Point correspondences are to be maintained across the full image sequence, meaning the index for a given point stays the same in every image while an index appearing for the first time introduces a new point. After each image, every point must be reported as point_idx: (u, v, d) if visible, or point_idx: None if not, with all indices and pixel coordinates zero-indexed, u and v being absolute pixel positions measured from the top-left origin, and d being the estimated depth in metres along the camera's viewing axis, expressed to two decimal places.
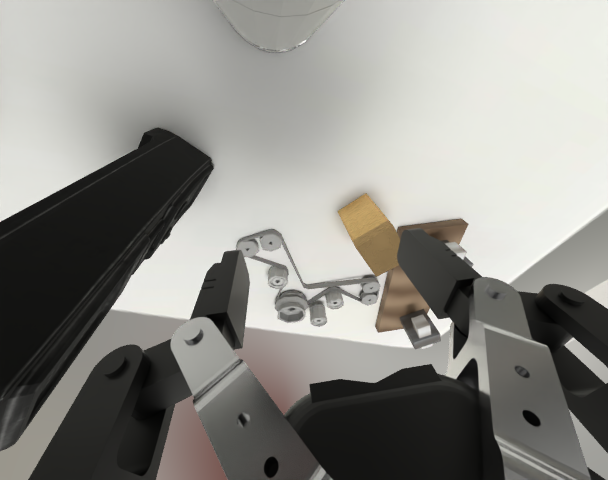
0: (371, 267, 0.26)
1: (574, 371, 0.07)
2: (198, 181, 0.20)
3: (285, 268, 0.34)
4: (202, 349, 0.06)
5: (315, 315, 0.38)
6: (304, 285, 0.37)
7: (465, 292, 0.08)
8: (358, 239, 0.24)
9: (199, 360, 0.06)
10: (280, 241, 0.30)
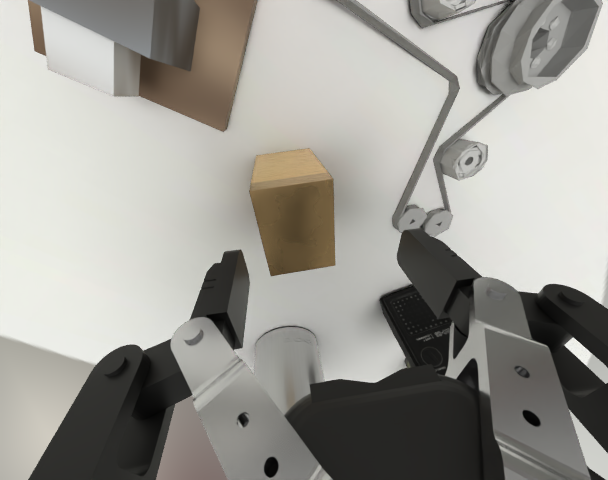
0: (331, 211, 0.12)
1: (574, 371, 0.07)
2: (402, 331, 0.25)
3: (437, 160, 0.20)
4: (202, 349, 0.06)
5: None
6: (453, 88, 0.17)
7: (465, 292, 0.08)
8: None
9: (199, 360, 0.06)
10: (401, 219, 0.22)
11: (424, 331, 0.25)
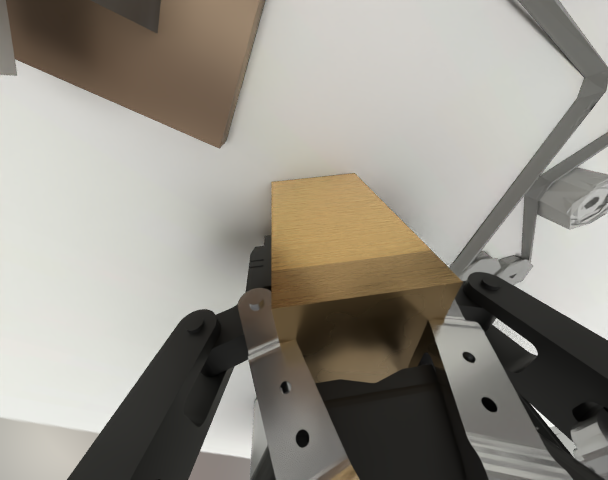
0: None
1: (504, 346, 0.07)
2: None
3: (533, 197, 0.13)
4: (261, 315, 0.07)
5: None
6: (591, 89, 0.10)
7: None
8: None
9: (267, 321, 0.07)
10: (466, 272, 0.16)
11: None
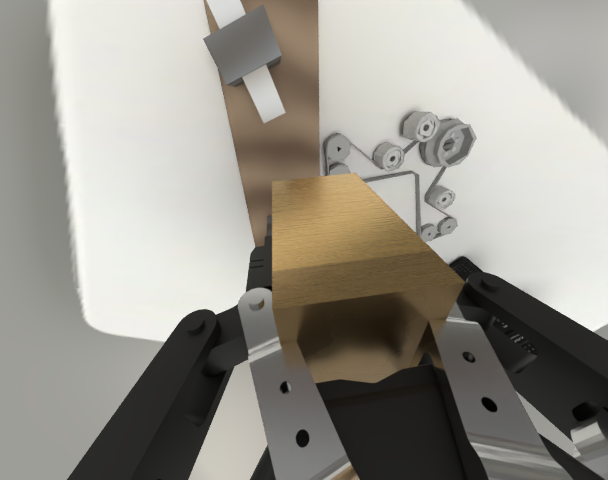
0: None
1: (504, 346, 0.07)
2: None
3: (427, 202, 0.34)
4: (261, 316, 0.07)
5: None
6: (416, 174, 0.31)
7: None
8: None
9: (268, 321, 0.07)
10: (421, 236, 0.37)
11: None
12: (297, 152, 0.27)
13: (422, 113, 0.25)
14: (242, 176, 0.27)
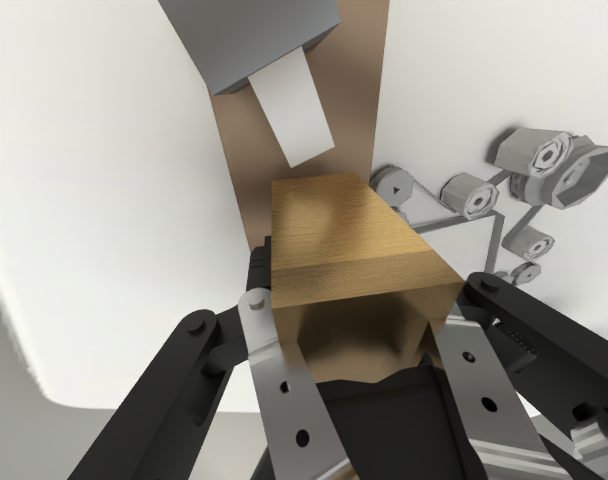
0: None
1: (504, 346, 0.07)
2: None
3: (506, 248, 0.24)
4: (261, 315, 0.07)
5: None
6: (498, 214, 0.21)
7: None
8: None
9: (268, 321, 0.07)
10: None
11: None
12: None
13: (542, 132, 0.15)
14: (247, 231, 0.18)
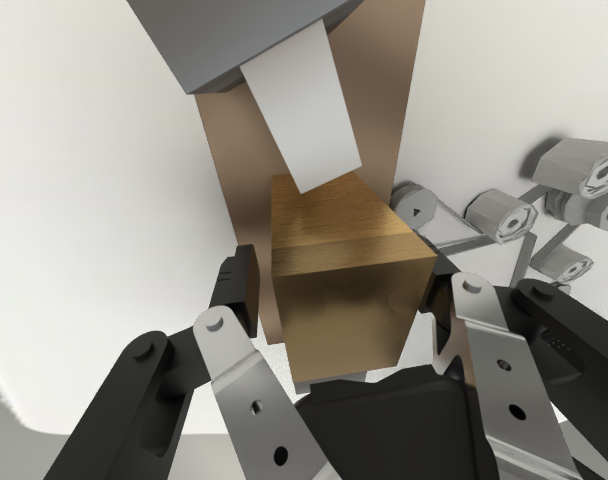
0: (414, 303, 0.07)
1: (550, 361, 0.07)
2: None
3: (534, 268, 0.21)
4: (222, 336, 0.06)
5: None
6: (529, 233, 0.19)
7: (444, 286, 0.08)
8: None
9: (222, 344, 0.06)
10: None
11: None
12: None
13: (598, 144, 0.12)
14: None
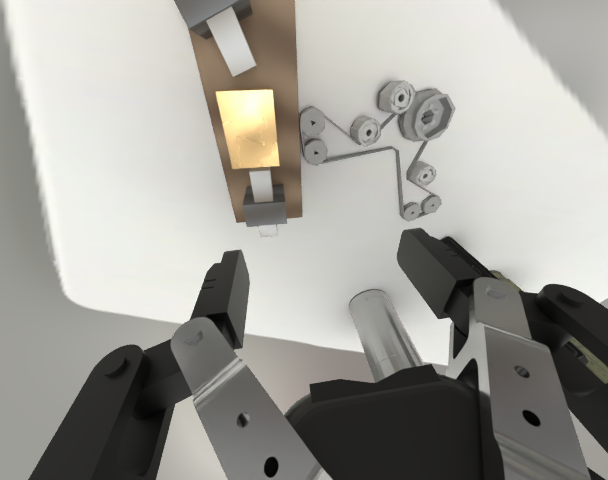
0: (273, 117, 0.18)
1: (574, 371, 0.07)
2: None
3: (409, 179, 0.33)
4: (202, 349, 0.06)
5: None
6: (396, 150, 0.30)
7: (465, 292, 0.08)
8: None
9: (199, 360, 0.06)
10: (404, 215, 0.36)
11: None
12: (275, 117, 0.25)
13: (397, 82, 0.24)
14: (218, 142, 0.26)
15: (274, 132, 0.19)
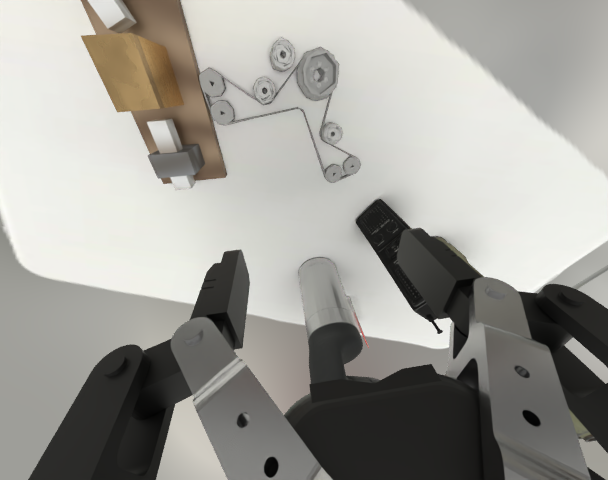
0: (139, 59, 0.21)
1: (574, 371, 0.07)
2: (365, 233, 0.41)
3: (322, 140, 0.36)
4: (202, 349, 0.06)
5: (289, 67, 0.28)
6: (302, 110, 0.33)
7: (465, 292, 0.08)
8: None
9: (199, 360, 0.06)
10: (326, 176, 0.39)
11: (376, 228, 0.40)
12: (175, 76, 0.28)
13: None
14: None
15: (145, 74, 0.22)
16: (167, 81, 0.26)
